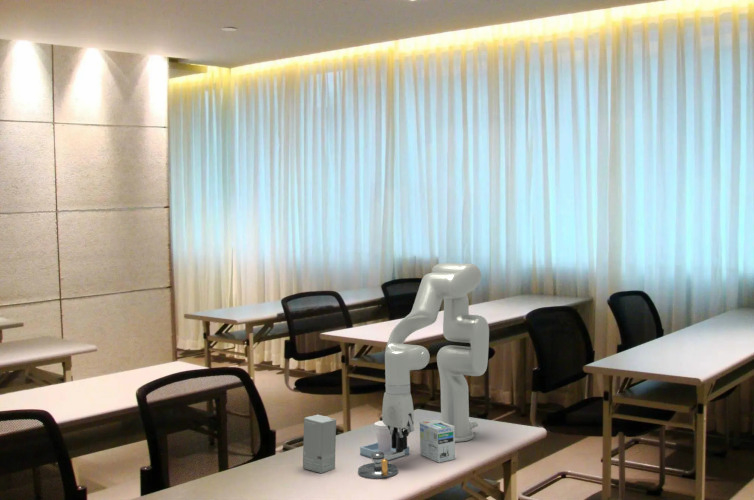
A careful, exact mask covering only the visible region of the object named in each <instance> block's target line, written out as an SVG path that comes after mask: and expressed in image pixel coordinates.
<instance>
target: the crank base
mask: <svg viewBox="0 0 754 500" xmlns="http://www.w3.org/2000/svg"><path fill="white" fill-rule="evenodd" d="M357 473H358V476H360V477H362V478H365V479H372V480H381V479H389V478H392V477H394V476H396V475H397V474H398V473H399V468H398V466H397V465H395V464H392V463H389V462H388V461H387V459H381V462H380V463H376V462H371V463H367V464H362V465H361V466H359V467H358V468H357Z"/></svg>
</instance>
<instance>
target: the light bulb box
mask: <svg viewBox="0 0 754 500" xmlns="http://www.w3.org/2000/svg"><path fill="white" fill-rule="evenodd" d="M419 441H420V442H419V446H420V447H419V449H420V451H419V452H420V456H424V457H425V458H427V459H430V460H432V461H434V462H437V463H442V462H449V461H453V460H456V442H455V427H454V426H453V425H450V424H447V423H444V422H441V420H438V419H430V420H425V421H420V422H419Z"/></svg>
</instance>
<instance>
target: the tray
mask: <svg viewBox="0 0 754 500" xmlns="http://www.w3.org/2000/svg"><path fill="white" fill-rule="evenodd" d="M392 451H396V448H392V445H391V452H392ZM403 451H405V455H403V456H400V457H396V458H393V459H390V460H387V462H389V461H393V460H395V459H396V460H397V459H399V458H403V457H405V456H408V455H410V446H408V445H407V449H404V450H403ZM372 452H379V447H378V441H377V442H373V443H369V444H367V445H363V446H360V447H359V453H360V454H359V455H360V456H363V457H366V458H369V459H372V458H371V453H372ZM387 453H389V452H387ZM384 454H386V453H384Z"/></svg>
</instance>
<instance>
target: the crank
mask: <svg viewBox="0 0 754 500" xmlns="http://www.w3.org/2000/svg"><path fill="white" fill-rule="evenodd" d="M398 437H400V436H399V432H398V433H396V451H392V452H389V453H386V454H384V453H383V452H372V453H371V458H370V459H372V463H374V462H376V463H380V462H381V459H387V460H389V461H391V460H390V459H393V458H396V457H399V458H401V457H400V456H403V455H405V451H403V450H399V449H398ZM403 457H404V456H403ZM396 459H397V458H396ZM393 460H394V459H393Z"/></svg>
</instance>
